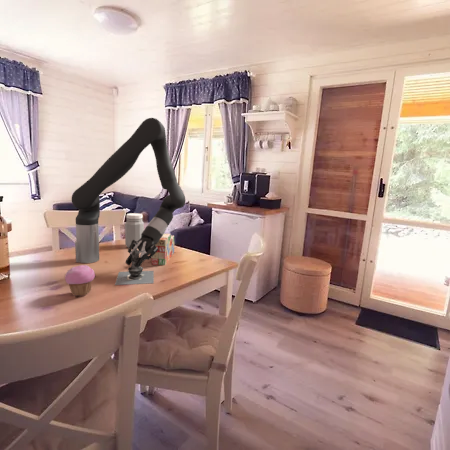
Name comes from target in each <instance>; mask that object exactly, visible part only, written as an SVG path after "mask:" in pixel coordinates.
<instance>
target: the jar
mask: <svg viewBox="0 0 450 450" xmlns="http://www.w3.org/2000/svg"><path fill="white" fill-rule="evenodd" d="M143 218H144V217H143V213H139V212H138V213H137V212H135V213H134V212H133V213H132V212H130V213H127V214H126V221H125V222H124V230H125V231H124V238H125V239H124V242H125V244H124V245H125V246H126V248H128V249H129V247H130V245H131V243H132V241H133V240H135V241H138V240H139V239H140V238H141V234H142V232H143V231H144V230H145V227H144V226H145V223H144V221H143Z"/></svg>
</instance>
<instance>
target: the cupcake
mask: <svg viewBox="0 0 450 450" xmlns="http://www.w3.org/2000/svg"><path fill="white" fill-rule="evenodd" d="M95 277H96V274H95V270H94V269H93V268H91V267H90V266H89V265H87V264H81V265H76V266H73V267H71V268H70V269H68V270H67V272H66V273H65V276H64V278H65V279H64V280H65V283H66V284H68V287H69V290H70V292H71V294H72V295H73V297H77V296H82V297H84V296H86V295H88V294H89V293H90V291H91V290H92V289H91V288H92V281H93V280H94V279H95Z"/></svg>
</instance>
